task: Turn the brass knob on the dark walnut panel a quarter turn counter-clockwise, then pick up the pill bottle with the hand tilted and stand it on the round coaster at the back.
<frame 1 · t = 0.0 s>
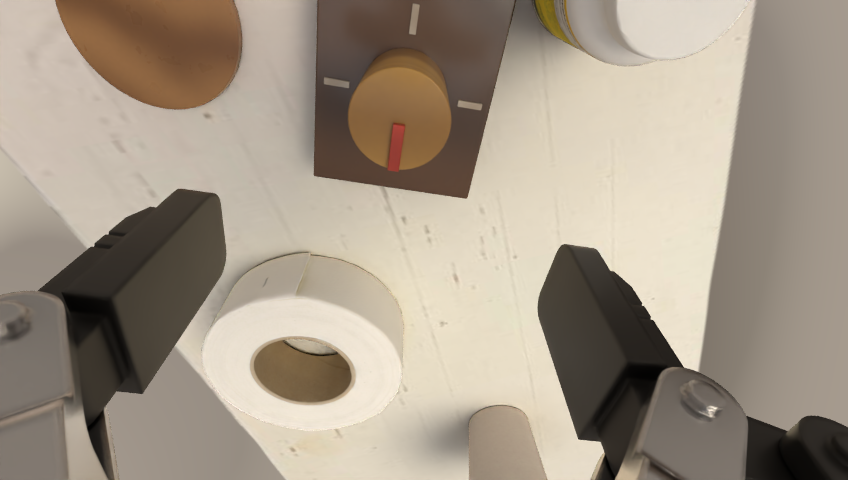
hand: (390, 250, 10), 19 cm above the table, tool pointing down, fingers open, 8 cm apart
panel: (406, 81, 26), on the table
tape roll: (318, 322, 38), on the table
knob: (402, 107, 21), point 6 cm above the table, hinge at 0.0°
coffee cup: (498, 422, 46), on the table
coaster: (154, 20, 24), on the table
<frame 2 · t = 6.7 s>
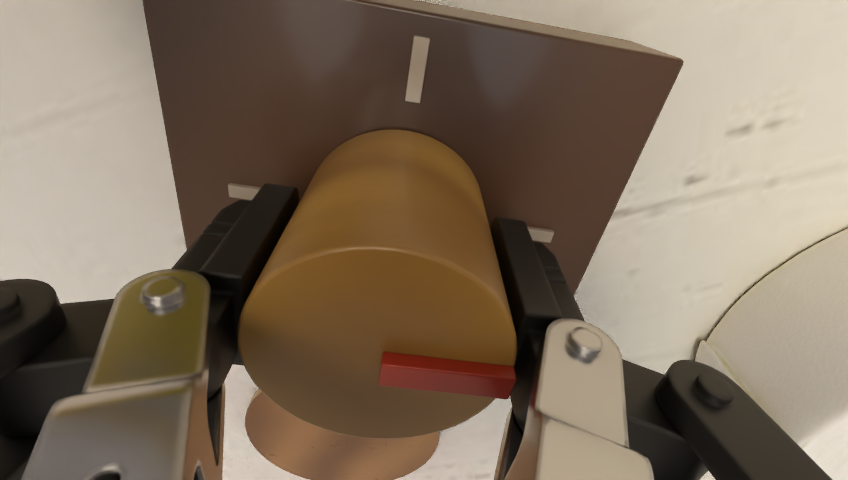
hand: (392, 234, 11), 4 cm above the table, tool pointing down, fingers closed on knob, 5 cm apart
panel: (401, 169, 14), on the table
knob: (388, 274, 9), point 6 cm above the table, hinge at 0.0°, touching gripper
coaster: (345, 425, 22), on the table
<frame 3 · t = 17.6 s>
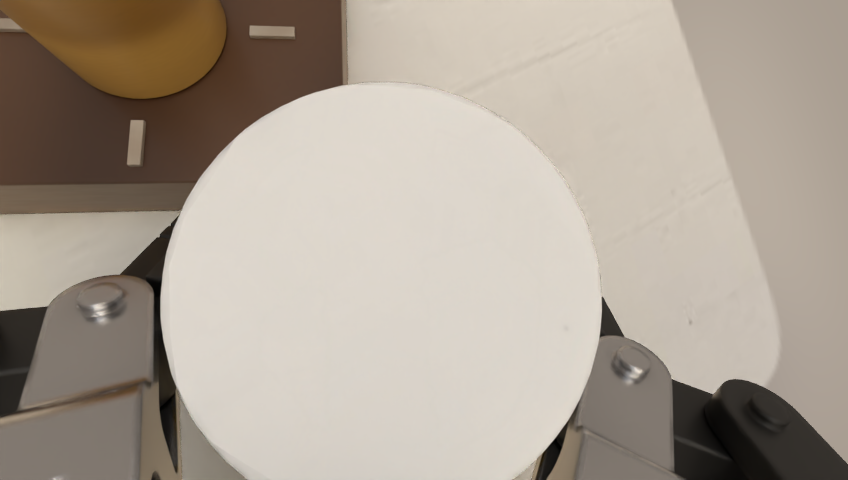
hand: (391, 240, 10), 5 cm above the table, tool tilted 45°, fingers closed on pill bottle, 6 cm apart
panel: (189, 84, 16), on the table
pill bottle: (381, 312, 15), on the table, touching gripper
when the fingers open (6 cm above the table, at t = 27.3 s): pill bottle stays where it is, resting on coaster.
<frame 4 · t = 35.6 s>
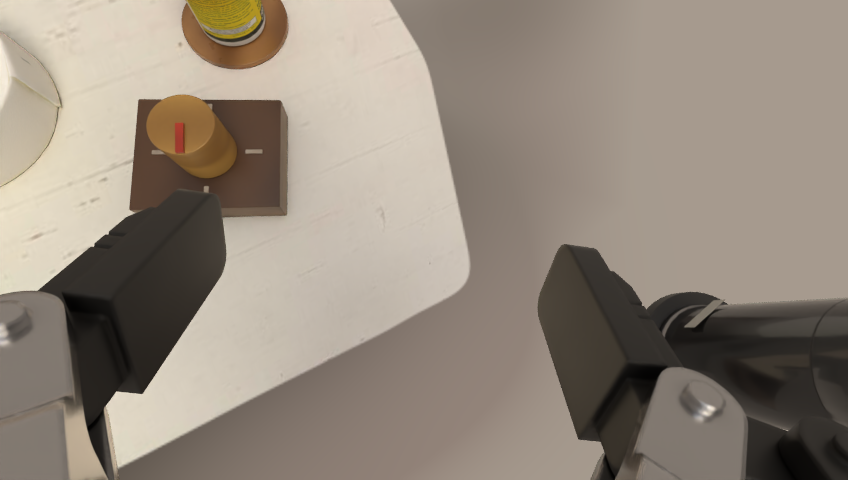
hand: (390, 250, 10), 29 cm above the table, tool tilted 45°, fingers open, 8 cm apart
panel: (221, 165, 39), on the table
knob: (194, 138, 33), point 6 cm above the table, hinge at 93.2°
pill bottle: (235, 22, 41), resting on coaster
coaster: (237, 24, 42), on the table
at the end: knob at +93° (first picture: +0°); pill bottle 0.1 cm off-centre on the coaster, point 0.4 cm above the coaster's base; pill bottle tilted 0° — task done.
